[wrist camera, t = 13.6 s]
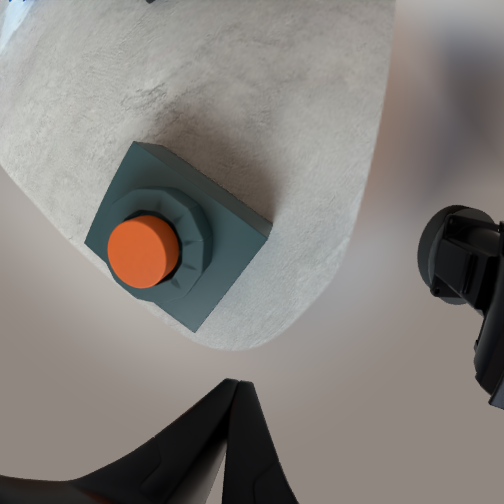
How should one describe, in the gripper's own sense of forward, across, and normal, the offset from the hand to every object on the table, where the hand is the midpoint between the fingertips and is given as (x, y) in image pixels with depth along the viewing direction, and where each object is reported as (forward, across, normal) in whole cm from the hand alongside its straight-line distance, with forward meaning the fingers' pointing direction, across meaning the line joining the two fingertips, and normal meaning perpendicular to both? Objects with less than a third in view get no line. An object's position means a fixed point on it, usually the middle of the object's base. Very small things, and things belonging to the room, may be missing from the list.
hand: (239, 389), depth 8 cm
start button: (+7, +7, -2) cm, 10 cm away
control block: (+13, +6, -2) cm, 15 cm away
